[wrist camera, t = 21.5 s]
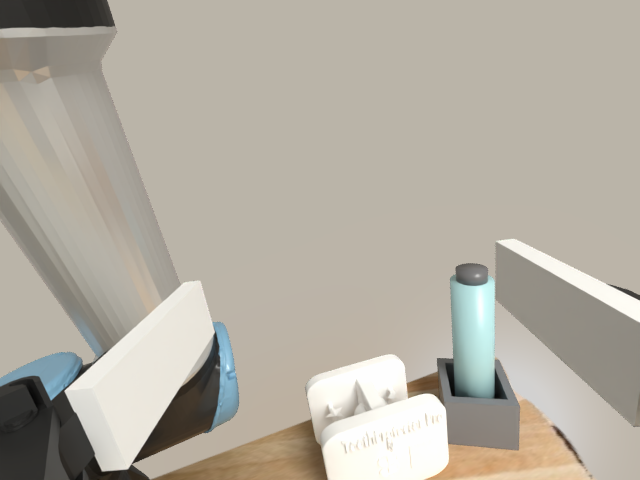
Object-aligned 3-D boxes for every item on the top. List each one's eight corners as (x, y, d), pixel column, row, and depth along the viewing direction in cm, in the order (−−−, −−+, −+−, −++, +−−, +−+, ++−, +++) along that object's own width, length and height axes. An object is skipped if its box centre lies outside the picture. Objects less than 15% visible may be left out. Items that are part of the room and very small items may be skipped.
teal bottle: (458, 433, 43) (453, 277, 37) (453, 404, 48) (447, 262, 41) (499, 436, 42) (499, 275, 35) (489, 407, 46) (488, 260, 40)
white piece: (410, 412, 48) (403, 347, 44) (452, 478, 38) (448, 401, 34) (316, 443, 45) (302, 377, 42) (335, 523, 35) (319, 444, 32)
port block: (446, 443, 42) (444, 401, 40) (439, 394, 50) (437, 358, 48) (518, 450, 39) (519, 406, 38) (498, 398, 47) (498, 359, 46)
